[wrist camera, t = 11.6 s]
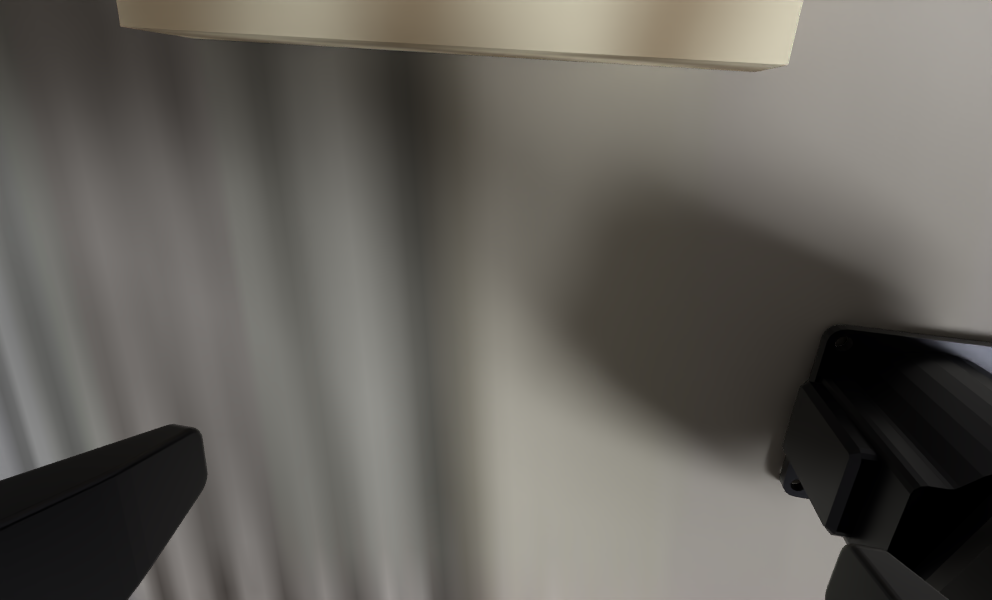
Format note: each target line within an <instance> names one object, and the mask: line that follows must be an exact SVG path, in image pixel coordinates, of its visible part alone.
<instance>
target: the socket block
mask: <svg viewBox="0 0 992 600" xmlns="http://www.w3.org/2000/svg"><path fill="white" fill-rule="evenodd" d="M116 2H117V8H118V15H119V21H120V27H126V28H132V29H138V30H144V31H151V32H157V33H163V34H169V35H175V36H182V37H188V38H195V39H212V40H229V41H245V42H262V43H279V44H296V45H312V46H329V47H346V48H363V49H379V50H396V51H413V52H430V53H446V54H463V55H480V56H497V57H513V58H530V59H547V60H563V61H580V62H597V63H614V64H630V65H647V66H664V67H681V68H697V69H714V70H731V71H748V72H757V71H762V70H767V69H771V68H776V67H781V66H786V65H788V63H789V59H790V55H791V51H792V46H793V42H794V38H795V34H796V29H797V25H798V21H799V17H800V12H801V8H802V4H803V0H116Z"/></svg>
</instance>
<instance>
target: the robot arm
mask: <svg viewBox="0 0 992 600" xmlns="http://www.w3.org/2000/svg"><path fill="white" fill-rule="evenodd" d="M845 336H847V341H846V343H845V344H843V345H841V346H835V342H836V340H837V339H838V338H840V337H845ZM782 447H783V450H784V452H785V454H786V457H785V460H784V464H783V467H782V470H781V474H780V482H781V484H782V486H783V488H784V490H785V492H786V493H788V494H789V495H791V496H794V497H800V498H806V499H810V501H811V503H812V505H813V507H814V509H815V511H816V513H817V515H818V517H819V518H820V520H821V522H822V524H823V526H824V527H825V528H826V529H827V531H828V532H829V533H830V534H831V535H834V536H840V537H843V538H844V540H845V542H846V544H847V545H845V546H844V547H843V548H842V550H841V552H840V554H839V557H838V559H837V562H836V565H835V568H834V570H833V573H832V576H831V578H830V581H829V584H828V586H827V589H826V594H825V600H992V343H990V342H982V341H974V340H966V339H957V338H949V337H941V336H933V335H925V334H916V333H908V332H900V331H892V330H883V329H875V328H867V327H859V326H851V325H835V326H832V327H830V328H829V329H827V330H826V331H825V332H824V334H823V336H822V339H821V342H820V345H819V349H818V352H817V355H816V359H815V362H814V365H813V368H812V372H811V375H810V378H809V381H807V382H806V383H804V384H803V385H802V386H801V387H800V388H799V392H798V395H797V399H796V402H795V405H794V409H793V412H792V415H791V419H790V422H789V425H788V429H787V432H786V435H785V439H784V442H783V446H782ZM796 479H799V480H800V482H799V483H797V484H792V483H791V482H792V481H794V480H796ZM206 480H207V466H206V459H205V452H204V445H203V438H202V434H201V433H200V431H199V430H198V429H196V428H194V427H188V426H182V425H176V424H170V425H166V426H163V427H160V428H157V429H154V430H151V431H148V432H145V433H142V434H139V435H136V436H133V437H130V438H127V439H124V440H121V441H118V442H115V443H112V444H109V445H106V446H103V447H100V448H97V449H94V450H91V451H88V452H85V453H82V454H79V455H76V456H73V457H70V458H67V459H64V460H61V461H58V462H55V463H52V464H49V465H46V466H43V467H40V468H37V469H34V470H31V471H28V472H25V473H22V474H19V475H16V476H13V477H10V478H7V479H4V480H1V481H0V600H128V599H129V597H130V596H131V595H132V593H133V592H134V591H135V589H136V588H137V587H138V586H139V584H140V583H141V581H142V580H143V578H144V577H145V576H146V574H147V573H148V571H149V570H150V569H151V567H152V566H153V564H154V563H155V561H156V560H157V558H158V557H159V555H160V554H161V552H162V551H163V549H164V548H165V546H166V545H167V543H168V542H169V540H170V539H171V537H172V536H173V534H174V533H175V531H176V530H177V528H178V527H179V525H180V524H181V522H182V521H183V519H184V518H185V516H186V515H187V513H188V512H189V510H190V509H191V507H192V506H193V504H194V503H195V501H196V500H197V498H198V497H199V495H200V494H201V492H202V490H203V488H204V486H205V484H206Z"/></svg>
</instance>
